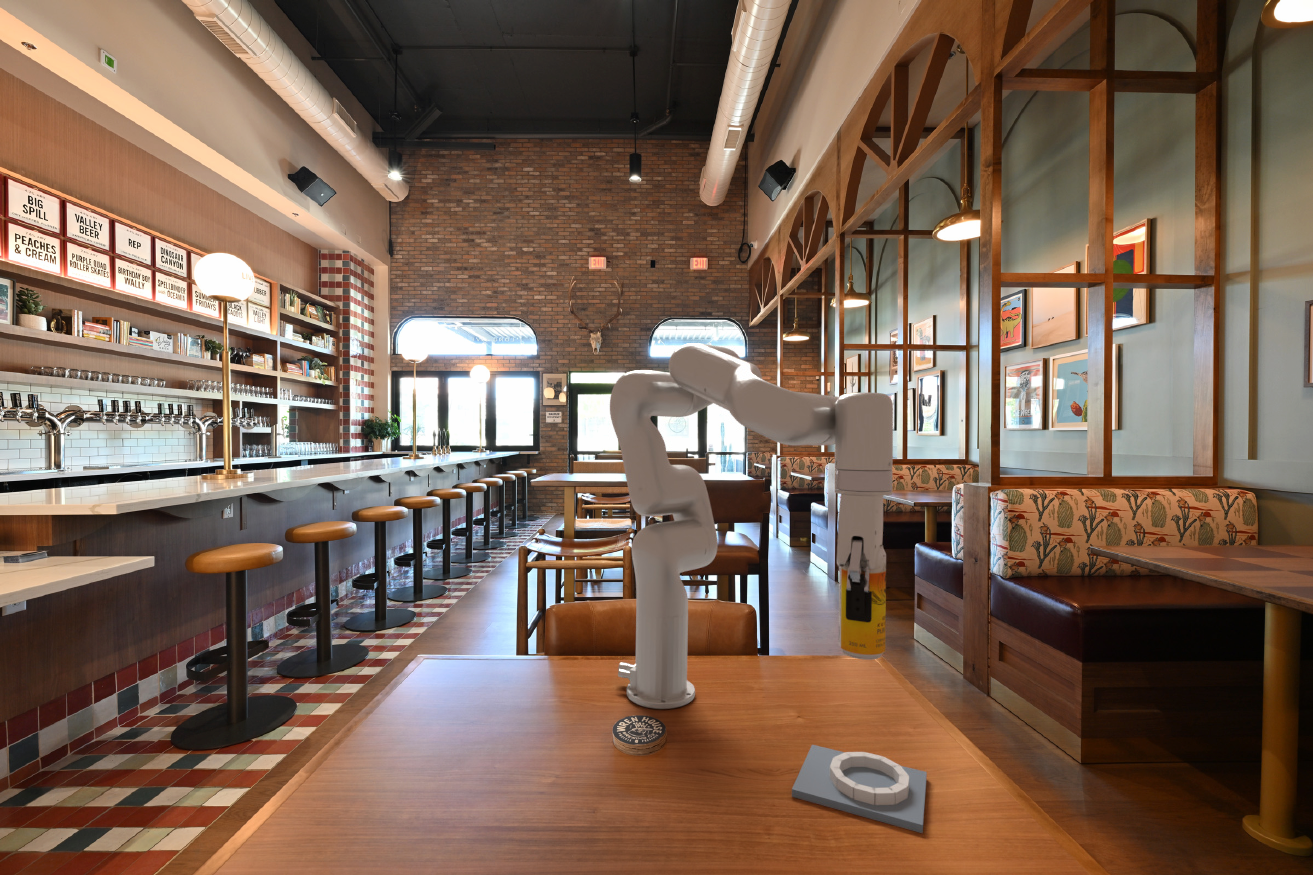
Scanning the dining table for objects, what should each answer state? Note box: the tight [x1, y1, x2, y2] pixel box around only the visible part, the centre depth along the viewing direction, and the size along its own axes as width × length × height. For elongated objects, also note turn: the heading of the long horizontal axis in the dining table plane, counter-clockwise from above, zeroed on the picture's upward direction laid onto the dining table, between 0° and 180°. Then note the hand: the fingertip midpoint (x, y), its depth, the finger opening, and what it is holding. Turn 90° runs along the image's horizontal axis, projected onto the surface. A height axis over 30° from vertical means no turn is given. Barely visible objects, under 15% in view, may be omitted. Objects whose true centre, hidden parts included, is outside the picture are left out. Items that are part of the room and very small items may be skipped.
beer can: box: [838, 544, 887, 661], centre depth 83 cm, size 6×6×15 cm
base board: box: [791, 744, 928, 834], centre depth 83 cm, size 16×13×2 cm
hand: (862, 612), depth 83 cm, fingers closed on beer can, 6 cm apart
